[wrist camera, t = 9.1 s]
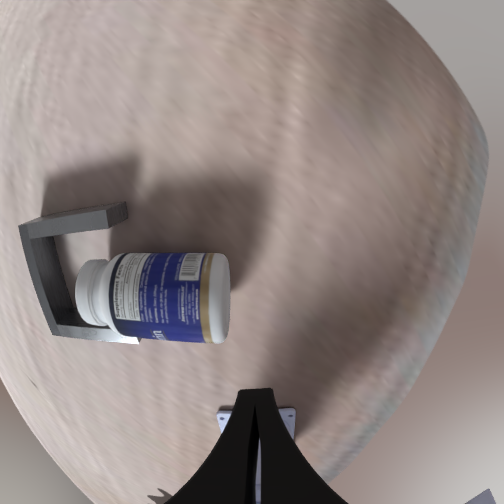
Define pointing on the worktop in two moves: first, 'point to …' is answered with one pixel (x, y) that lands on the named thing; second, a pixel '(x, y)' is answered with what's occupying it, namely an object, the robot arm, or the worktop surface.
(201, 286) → the pill bottle
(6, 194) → the worktop surface
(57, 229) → the metal u-channel bracket
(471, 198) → the worktop surface
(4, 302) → the worktop surface
